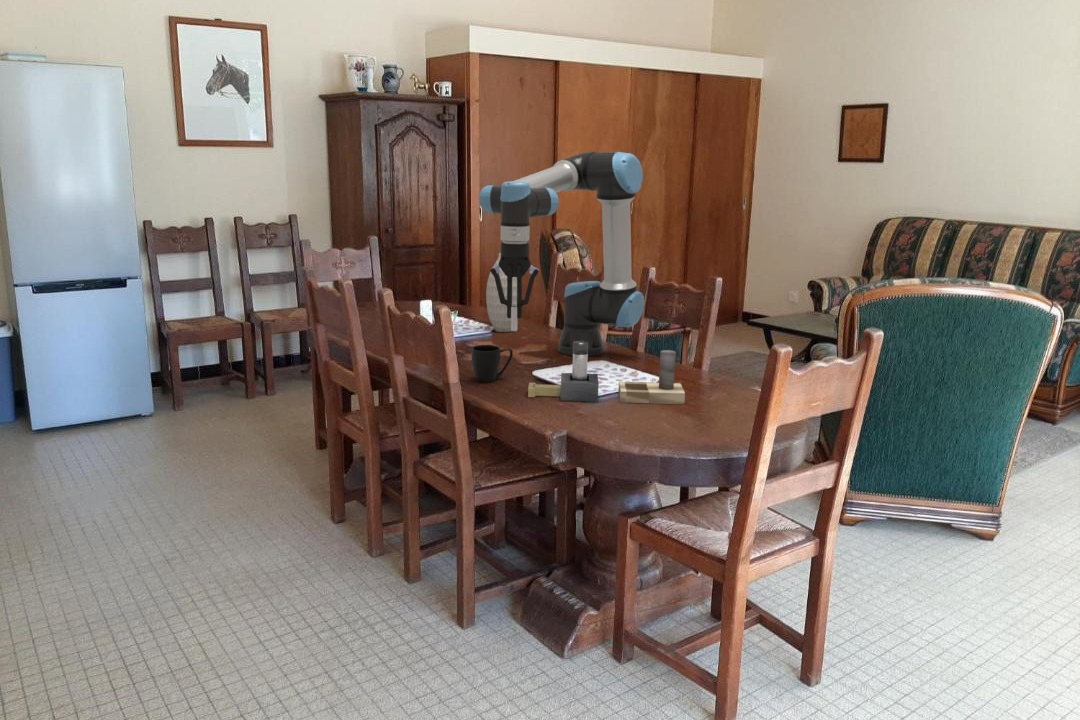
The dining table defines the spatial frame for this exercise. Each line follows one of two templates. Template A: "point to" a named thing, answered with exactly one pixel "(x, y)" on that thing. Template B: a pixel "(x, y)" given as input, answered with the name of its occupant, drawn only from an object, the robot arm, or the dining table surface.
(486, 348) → the mug
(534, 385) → the t-shaped block
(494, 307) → the vase
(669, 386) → the rack
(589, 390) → the socket
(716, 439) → the dining table surface
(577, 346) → the round peg
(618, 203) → the robot arm
